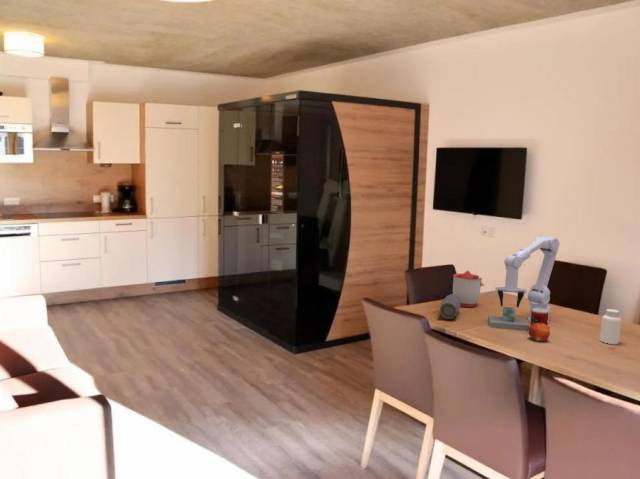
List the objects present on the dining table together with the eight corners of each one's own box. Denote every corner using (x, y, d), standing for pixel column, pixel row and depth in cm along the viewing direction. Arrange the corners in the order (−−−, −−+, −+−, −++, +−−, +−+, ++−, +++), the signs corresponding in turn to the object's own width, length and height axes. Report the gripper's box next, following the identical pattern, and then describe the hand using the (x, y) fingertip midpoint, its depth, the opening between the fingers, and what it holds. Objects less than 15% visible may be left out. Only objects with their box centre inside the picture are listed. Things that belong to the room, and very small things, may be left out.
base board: (524, 323, 285) (525, 318, 285) (528, 330, 272) (529, 325, 272) (487, 320, 288) (488, 315, 288) (490, 327, 276) (490, 322, 275)
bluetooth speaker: (457, 322, 282) (458, 303, 281) (438, 320, 285) (439, 300, 284) (460, 312, 304) (462, 294, 303) (443, 310, 307) (444, 292, 306)
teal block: (512, 319, 282) (513, 307, 282) (514, 322, 277) (515, 310, 277) (502, 318, 283) (503, 307, 283) (503, 321, 278) (504, 309, 278)
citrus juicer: (485, 309, 312) (488, 273, 310) (454, 308, 312) (457, 272, 310) (478, 302, 328) (481, 268, 325) (448, 301, 328) (450, 267, 325)
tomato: (551, 343, 252) (552, 326, 251) (529, 341, 254) (531, 324, 253) (547, 337, 261) (548, 321, 260) (526, 336, 263) (527, 319, 262)
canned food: (546, 331, 273) (548, 309, 271) (547, 335, 265) (549, 312, 264) (529, 329, 275) (531, 307, 274) (529, 333, 268) (531, 310, 266)
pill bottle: (618, 346, 253) (621, 313, 251) (598, 342, 257) (602, 310, 255) (619, 341, 260) (623, 310, 258) (600, 338, 264) (603, 307, 262)
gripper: (497, 280, 276) (495, 307, 278) (528, 282, 274) (526, 309, 275) (495, 277, 283) (493, 303, 285) (525, 279, 281) (523, 306, 282)
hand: (509, 306), depth 281 cm, fingers open, 7 cm apart
